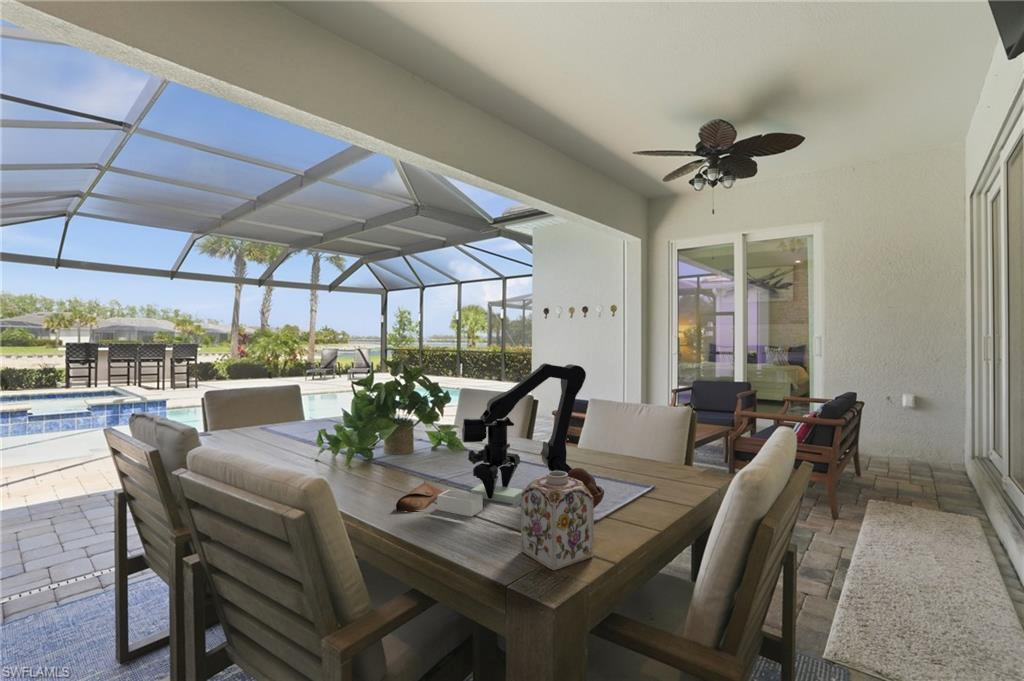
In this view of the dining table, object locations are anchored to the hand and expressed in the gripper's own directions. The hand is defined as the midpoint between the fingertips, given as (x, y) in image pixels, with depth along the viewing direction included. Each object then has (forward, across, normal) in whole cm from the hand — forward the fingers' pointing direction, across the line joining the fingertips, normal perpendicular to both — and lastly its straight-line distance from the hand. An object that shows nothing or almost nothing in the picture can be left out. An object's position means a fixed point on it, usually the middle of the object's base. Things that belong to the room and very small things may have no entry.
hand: (497, 493), depth 144 cm
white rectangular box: (+1, +14, -4) cm, 15 cm away
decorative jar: (+2, +26, +29) cm, 39 cm away
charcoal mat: (+1, 0, 0) cm, 1 cm away
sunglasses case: (+2, +12, -18) cm, 22 cm away
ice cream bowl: (+2, +9, +29) cm, 30 cm away
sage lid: (+1, 0, 0) cm, 1 cm away
